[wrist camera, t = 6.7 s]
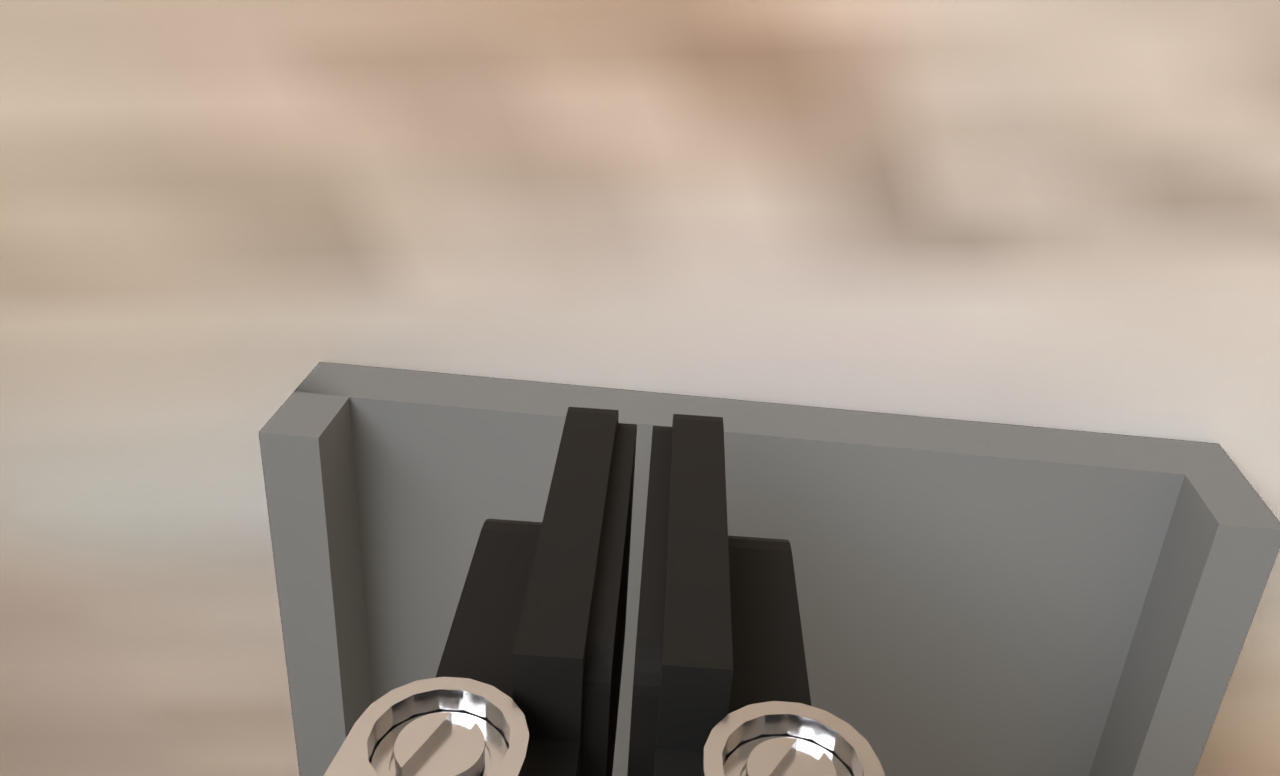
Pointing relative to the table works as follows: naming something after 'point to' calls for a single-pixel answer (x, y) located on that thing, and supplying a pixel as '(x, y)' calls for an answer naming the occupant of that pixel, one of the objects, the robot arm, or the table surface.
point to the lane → (801, 563)
